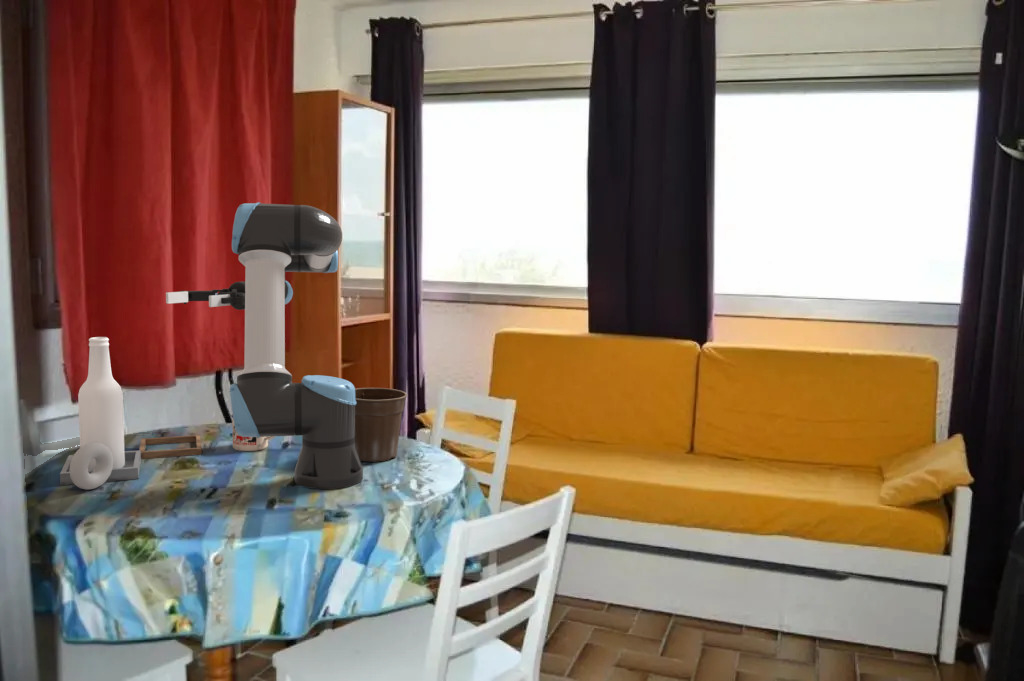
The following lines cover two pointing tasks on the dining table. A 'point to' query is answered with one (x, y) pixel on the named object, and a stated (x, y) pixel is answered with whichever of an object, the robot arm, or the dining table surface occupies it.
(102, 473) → the donut
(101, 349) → the alcohol
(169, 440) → the square wooden frame
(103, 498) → the dining table surface
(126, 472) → the tray
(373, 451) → the plant pot
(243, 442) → the teacup with lid
